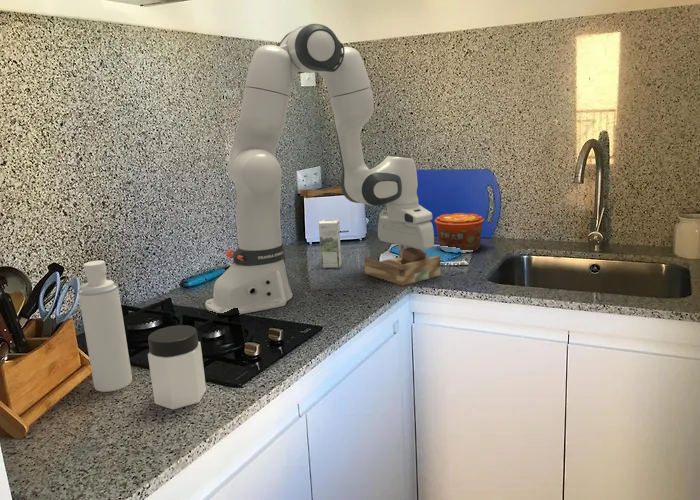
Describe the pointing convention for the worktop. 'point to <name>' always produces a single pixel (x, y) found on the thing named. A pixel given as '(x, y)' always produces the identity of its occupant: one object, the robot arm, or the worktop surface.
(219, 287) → the robot arm
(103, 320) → the white bottle
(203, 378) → the jar
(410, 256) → the block
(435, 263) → the tray
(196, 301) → the worktop surface
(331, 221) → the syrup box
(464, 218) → the food container
